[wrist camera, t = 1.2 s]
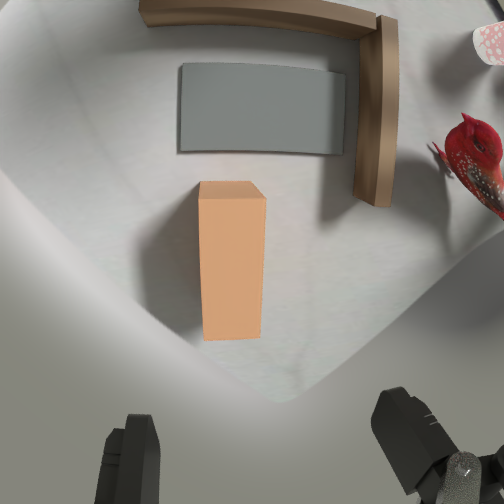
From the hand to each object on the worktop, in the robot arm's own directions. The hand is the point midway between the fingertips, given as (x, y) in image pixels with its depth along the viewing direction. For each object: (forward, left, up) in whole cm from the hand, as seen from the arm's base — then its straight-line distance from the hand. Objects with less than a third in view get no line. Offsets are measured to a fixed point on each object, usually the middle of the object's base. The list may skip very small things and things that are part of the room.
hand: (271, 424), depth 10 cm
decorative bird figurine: (-7, +23, -19) cm, 30 cm away
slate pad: (-11, +3, -19) cm, 22 cm away
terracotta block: (0, 0, -19) cm, 19 cm away
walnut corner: (-11, +3, -19) cm, 22 cm away
